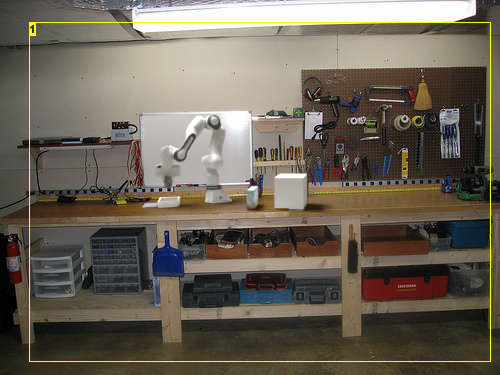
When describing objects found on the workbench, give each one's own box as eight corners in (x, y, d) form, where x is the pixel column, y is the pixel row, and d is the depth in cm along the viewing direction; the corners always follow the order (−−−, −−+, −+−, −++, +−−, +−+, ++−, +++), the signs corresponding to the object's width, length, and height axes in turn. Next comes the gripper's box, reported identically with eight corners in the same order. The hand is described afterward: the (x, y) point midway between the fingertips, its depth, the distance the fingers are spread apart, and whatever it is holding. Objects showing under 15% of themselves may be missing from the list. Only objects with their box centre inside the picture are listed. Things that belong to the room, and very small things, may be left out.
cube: (303, 211, 273) (303, 178, 269) (274, 210, 278) (274, 177, 274) (306, 204, 297) (306, 173, 293) (280, 203, 302) (279, 173, 298)
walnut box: (172, 185, 308) (171, 174, 306) (170, 187, 296) (170, 176, 295) (166, 185, 307) (165, 175, 306) (164, 188, 296) (163, 176, 294)
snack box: (253, 210, 278) (253, 190, 276) (246, 209, 280) (245, 190, 277) (258, 204, 299) (258, 185, 297) (251, 204, 300) (251, 185, 298)
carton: (180, 202, 314) (179, 196, 313) (178, 206, 296) (178, 200, 295) (160, 203, 312) (160, 197, 311) (157, 207, 294) (157, 201, 294)
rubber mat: (158, 203, 311) (158, 202, 311) (156, 207, 295) (156, 206, 295) (145, 204, 310) (145, 203, 310) (141, 208, 294) (141, 207, 294)
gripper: (180, 164, 303) (181, 181, 305) (154, 165, 301) (156, 182, 303) (179, 165, 297) (180, 182, 299) (153, 166, 295) (154, 183, 297)
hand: (168, 182), depth 301 cm, fingers closed on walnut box, 5 cm apart
